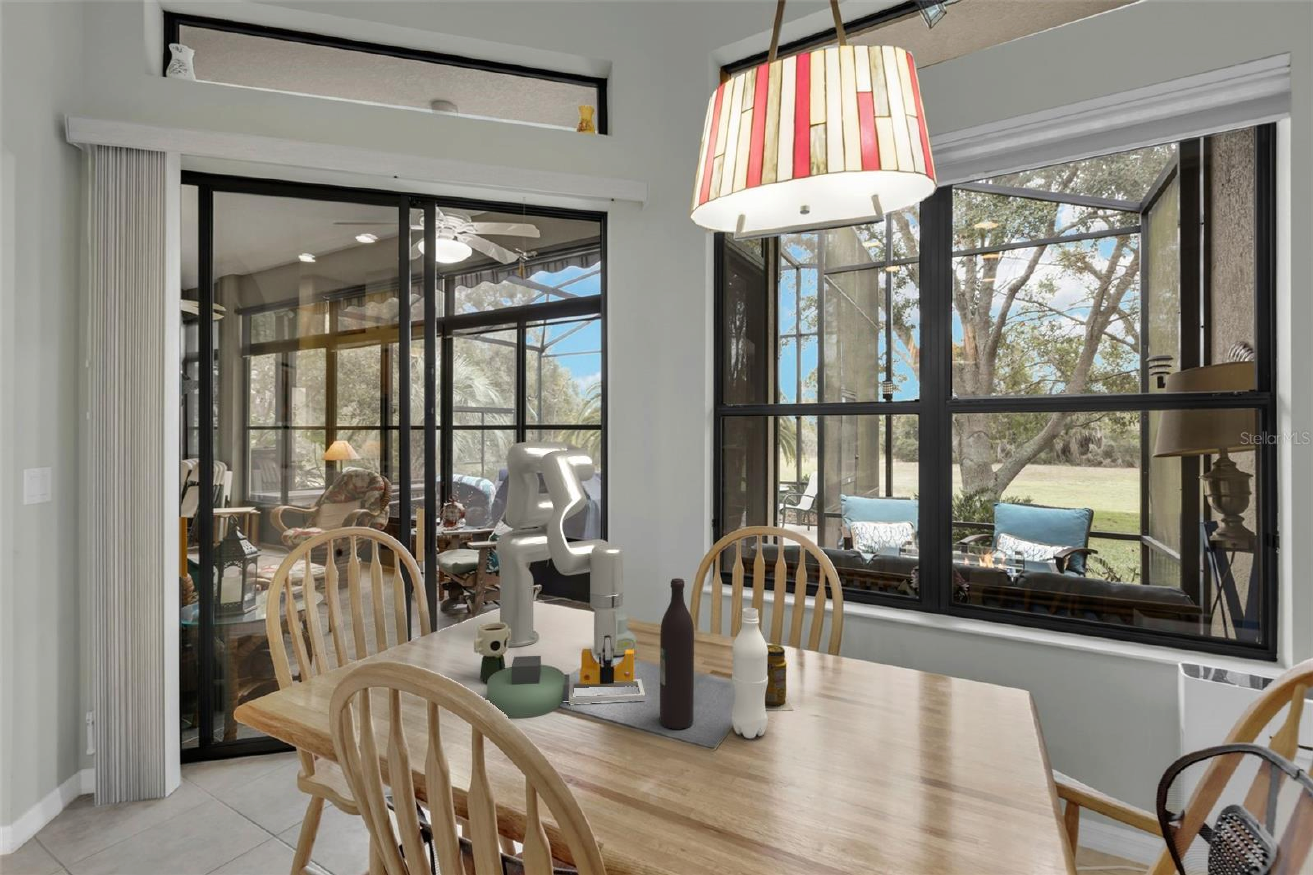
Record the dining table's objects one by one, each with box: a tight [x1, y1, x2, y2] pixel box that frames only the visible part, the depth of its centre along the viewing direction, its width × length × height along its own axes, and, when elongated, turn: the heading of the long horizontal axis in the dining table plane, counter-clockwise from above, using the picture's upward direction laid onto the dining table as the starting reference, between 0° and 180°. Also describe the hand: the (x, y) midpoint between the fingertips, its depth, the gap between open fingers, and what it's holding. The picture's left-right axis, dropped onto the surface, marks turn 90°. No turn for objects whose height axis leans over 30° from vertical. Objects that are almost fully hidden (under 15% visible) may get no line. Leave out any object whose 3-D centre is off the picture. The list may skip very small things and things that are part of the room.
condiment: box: [765, 644, 794, 712], centre depth 141 cm, size 7×8×12 cm
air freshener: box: [613, 612, 637, 657], centre depth 171 cm, size 11×8×10 cm
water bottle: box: [731, 607, 769, 739], centre depth 127 cm, size 7×7×25 cm
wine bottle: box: [659, 577, 695, 730], centre depth 131 cm, size 7×7×30 cm
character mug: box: [473, 621, 511, 683], centre depth 153 cm, size 11×7×13 cm, turn 143°
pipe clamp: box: [579, 648, 635, 684], centre depth 144 cm, size 12×4×6 cm, turn 88°
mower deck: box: [486, 655, 646, 719], centre depth 142 cm, size 17×35×9 cm, turn 97°
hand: (606, 677), depth 144 cm, fingers closed on pipe clamp, 4 cm apart
